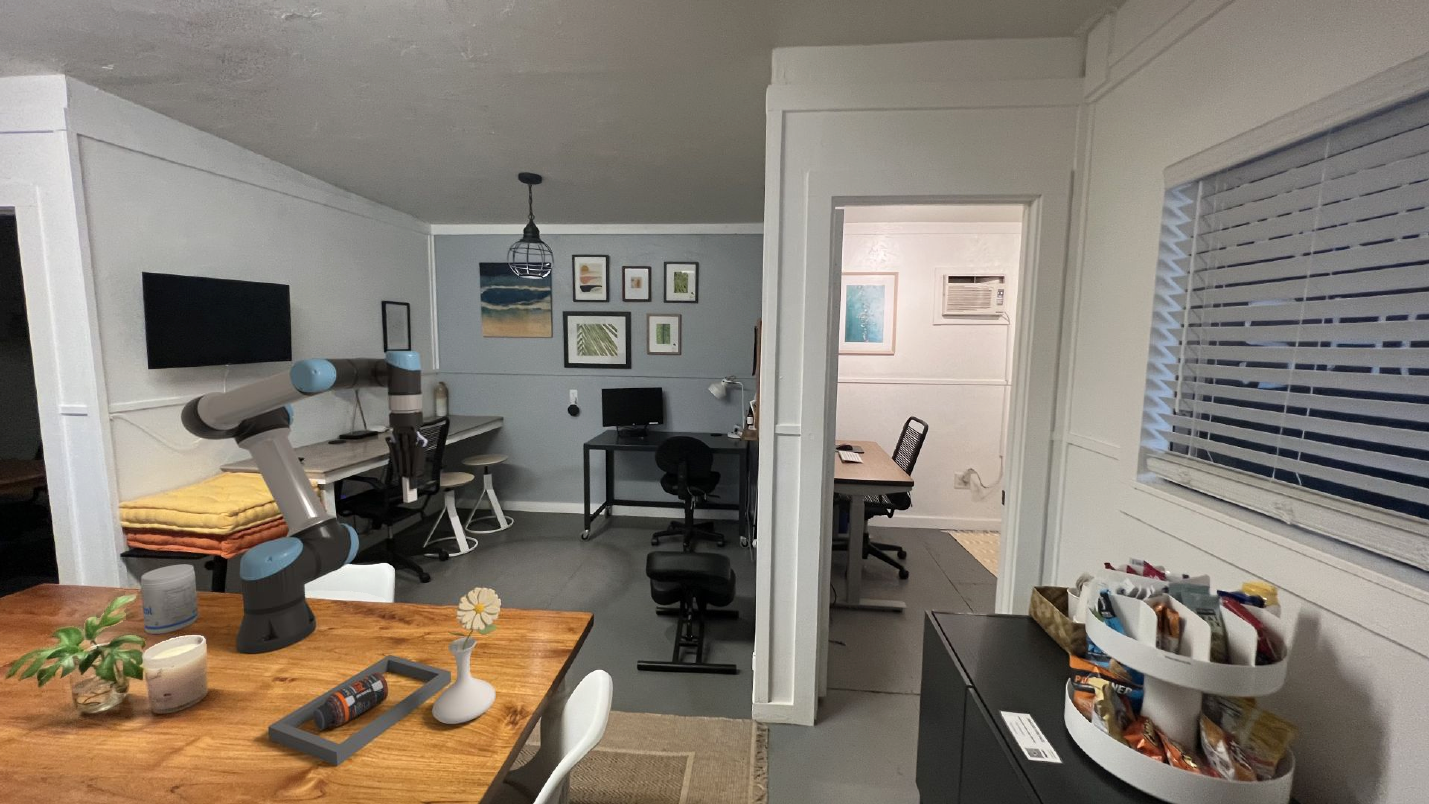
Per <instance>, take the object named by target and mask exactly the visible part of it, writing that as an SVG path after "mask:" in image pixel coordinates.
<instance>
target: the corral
mask: <svg viewBox="0 0 1429 804" xmlns="http://www.w3.org/2000/svg"><path fill="white" fill-rule="evenodd" d="M389 671H391V672H393V673H397V674H400V675H404V676H407V677H410V678H414V679H417V680H421V681H424V682H425V681H426V683H424V684H423V685H422V686H421V687H419V688H418V689H416V690H415V691H413V692H412V693H410V694H409V695H408V696H406V697H405V698H403V699H401V700H400V701H399V702H398V703H396V704H395V705H393V706H392V707H390V708H389V709H388V710H386V711H384V712H383V713H382V714H380V715H379V716H377V717H376V718H375V719H373V720H372V721H371V722H369V723H368V724H365V726H363V727H362V728H360V729H359V730H358V731H356V732H354V733H353V734H351V735H350V736H349V737H348V738H346V739H345V740H343V741H342V742H340V743H337V742H335V741H332V740H330V739H326V738H324V737H321V736H319V735H316V734H313V733H311V732H309V731H305V730H303V729H300V728H298V727H300V726H302V725H303V724H305V723H307V722H308V721H310V720H311V719H313V712H314V710H315V709H316V708H318V707H320V706H321V705H324V703H325V702H326V699H327V698H328V697H329V696H330V695H332V694H334V693H336V692H338V691H340V690H342V689H344V688H346V687H348V686H350V685H351V684H353V683H355V682H357V681H359V680H361V679H363V678H365V677H367V676H369V675H371V674H373V673H380V674H381V675H384V674H386V673H387V672H389ZM451 672H452V671H450V670H447V669H443V668H440V667H435V666H432V665H428V664H425V663H421V662H419V661H414V660H411V659H407V658H403V657H400V656H396V655H392V654H388V655H386V656H385V657H383V658H382V659H379V660H378V661H377V662H375V663H373V664H372V665H369V666H368V667H366V668H365V669H362V670H361V671H360V672H358V673H356V674H355V675H353V676H351V677H350V678H348V679H346V680H344V681H343V682H341V683H339V684H338V685H336V686H334V687H332V688H331V689H330V690H327V691H326V692H324V693H322V694H321V695H319V696H317V697H316V698H314V699H312V700H311V701H309V702H307V703H305V704H304V705H302V706H300V707H298V708H297V709H295V710H294V711H292V712H290V713H288V714H287V715H285V716H283V717H282V718H279V719H278V720H277V721H275V722H274V723H272V724H270V725H268V739H269V740H270V741H272V742H275V743H277V744H280V745H282V746H286V747H287V748H290V749H293V750H295V751H298V752H301V753H304V754H306V755H309V756H311V757H313V758H317V759H318V760H322V761H324V762H326V763H329V764H332V765H334V766H336V767H338V766H340V765H341V764H343V763H344V762H345V761H346V760H348V759H349V758H350V757H352V756H353V755H355V754H356V753H357V752H359V751H360V750H362V749H363V748H364V747H366V746H367V745H368V744H370V743H371V742H372V741H373V740H375V739H377V738H378V737H379V736H381V735H382V734H383V733H385V732H386V731H388V729H390V728H391V727H392V726H394V725H395V724H397V723H398V722H399V721H400V720H402V719H403V718H405V717H406V716H407V715H409V714H410V713H412V712H413V711H414V710H416V709H417V708H418V707H420V706H421V705H422V704H424V703H425V702H427V701H428V700H429V699H430V698H432V697H433V696H435V695H436V694H437V693H439V692H441V691H442V690H443V689H444V688H446V687H447V686H448V685H449V684H451V683H452V675H451V674H452V673H451Z"/></svg>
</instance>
